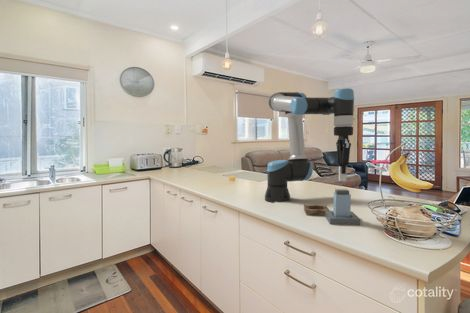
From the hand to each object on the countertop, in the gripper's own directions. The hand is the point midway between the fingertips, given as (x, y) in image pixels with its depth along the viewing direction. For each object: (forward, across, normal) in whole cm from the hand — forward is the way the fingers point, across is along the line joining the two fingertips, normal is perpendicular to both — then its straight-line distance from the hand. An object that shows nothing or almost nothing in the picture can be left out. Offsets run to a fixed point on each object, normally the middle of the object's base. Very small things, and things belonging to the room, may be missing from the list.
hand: (342, 180), depth 106 cm
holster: (+18, +10, +9) cm, 23 cm away
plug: (+18, 0, 0) cm, 18 cm away
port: (+18, 0, 0) cm, 18 cm away
